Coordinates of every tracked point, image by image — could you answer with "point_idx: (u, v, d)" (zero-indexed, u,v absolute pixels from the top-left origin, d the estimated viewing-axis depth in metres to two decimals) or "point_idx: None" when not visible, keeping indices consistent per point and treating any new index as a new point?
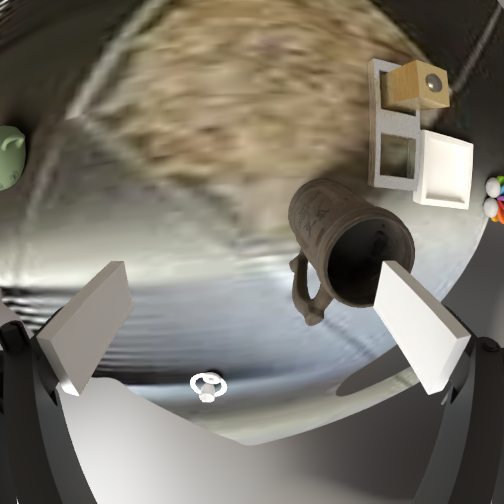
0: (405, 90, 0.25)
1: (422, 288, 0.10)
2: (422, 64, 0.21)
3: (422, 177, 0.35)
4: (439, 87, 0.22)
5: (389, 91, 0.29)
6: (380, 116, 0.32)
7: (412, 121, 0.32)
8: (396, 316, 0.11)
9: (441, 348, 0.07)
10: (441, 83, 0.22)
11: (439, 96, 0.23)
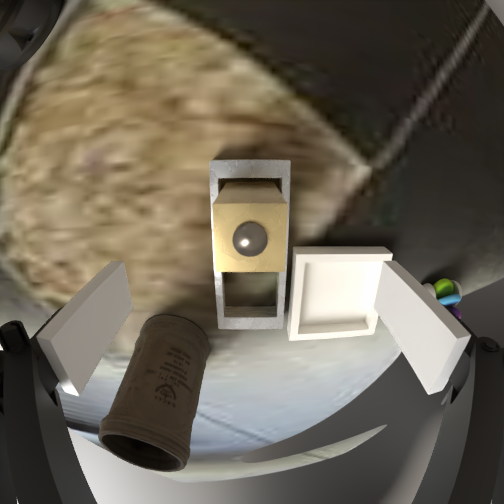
0: None
1: (422, 288, 0.10)
2: (227, 208, 0.18)
3: (291, 312, 0.33)
4: (260, 246, 0.19)
5: None
6: None
7: None
8: (396, 316, 0.11)
9: (441, 348, 0.07)
10: (266, 236, 0.19)
11: (261, 260, 0.20)
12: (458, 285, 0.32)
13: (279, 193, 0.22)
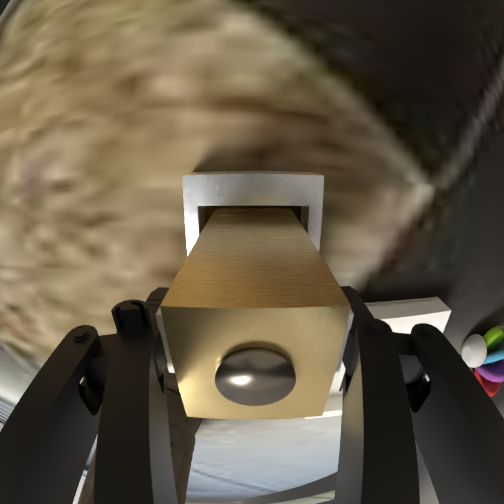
0: None
1: None
2: (198, 318, 0.07)
3: None
4: (277, 391, 0.08)
5: None
6: None
7: None
8: None
9: None
10: (294, 374, 0.07)
11: (277, 405, 0.08)
12: None
13: (314, 250, 0.11)
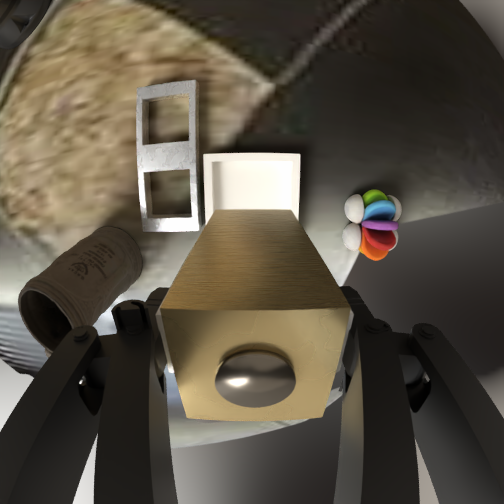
0: None
1: None
2: (198, 321, 0.07)
3: (205, 213, 0.35)
4: (277, 393, 0.08)
5: None
6: (141, 154, 0.32)
7: (183, 148, 0.32)
8: None
9: None
10: (294, 376, 0.07)
11: (277, 407, 0.08)
12: (394, 198, 0.34)
13: (315, 251, 0.11)
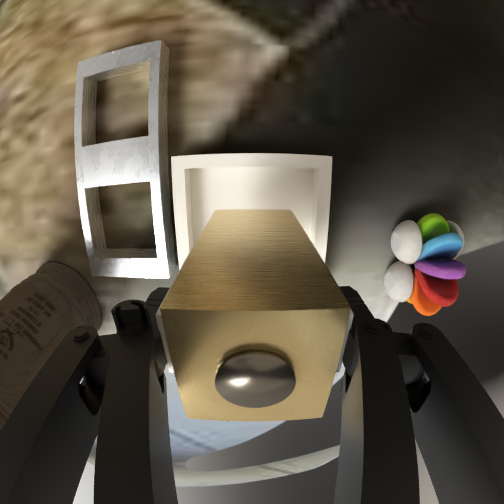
0: None
1: None
2: (198, 321, 0.07)
3: None
4: (277, 393, 0.08)
5: None
6: (81, 160, 0.19)
7: (140, 148, 0.19)
8: None
9: None
10: (294, 376, 0.07)
11: (277, 407, 0.08)
12: (457, 226, 0.21)
13: (315, 252, 0.11)
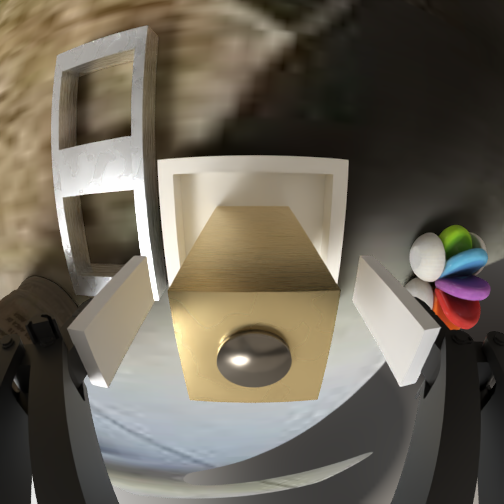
0: None
1: (395, 281, 0.10)
2: (202, 302, 0.08)
3: (167, 271, 0.19)
4: (274, 372, 0.08)
5: None
6: (58, 166, 0.16)
7: (122, 150, 0.15)
8: (371, 309, 0.12)
9: (410, 340, 0.08)
10: (290, 356, 0.08)
11: (275, 388, 0.09)
12: (479, 239, 0.17)
13: (309, 243, 0.11)
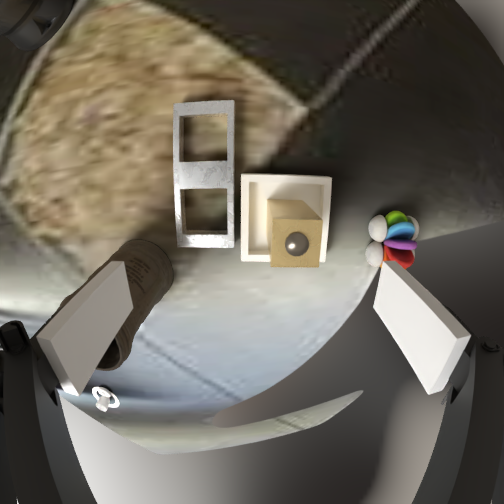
0: (269, 244, 0.31)
1: (422, 288, 0.10)
2: (282, 222, 0.26)
3: (241, 231, 0.37)
4: (303, 249, 0.27)
5: None
6: (178, 171, 0.34)
7: (221, 167, 0.34)
8: (396, 316, 0.11)
9: (441, 348, 0.07)
10: (308, 242, 0.27)
11: (303, 259, 0.28)
12: (413, 219, 0.36)
13: (313, 211, 0.30)
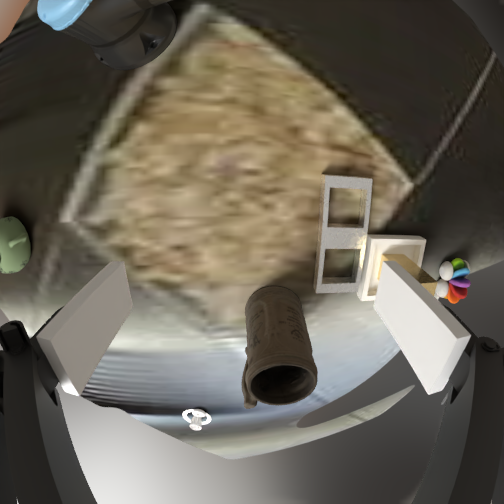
0: None
1: (422, 288, 0.10)
2: None
3: (365, 279, 0.46)
4: None
5: None
6: (326, 234, 0.43)
7: (359, 233, 0.43)
8: (396, 316, 0.11)
9: (441, 348, 0.07)
10: None
11: None
12: (467, 263, 0.44)
13: (424, 271, 0.39)
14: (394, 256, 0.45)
